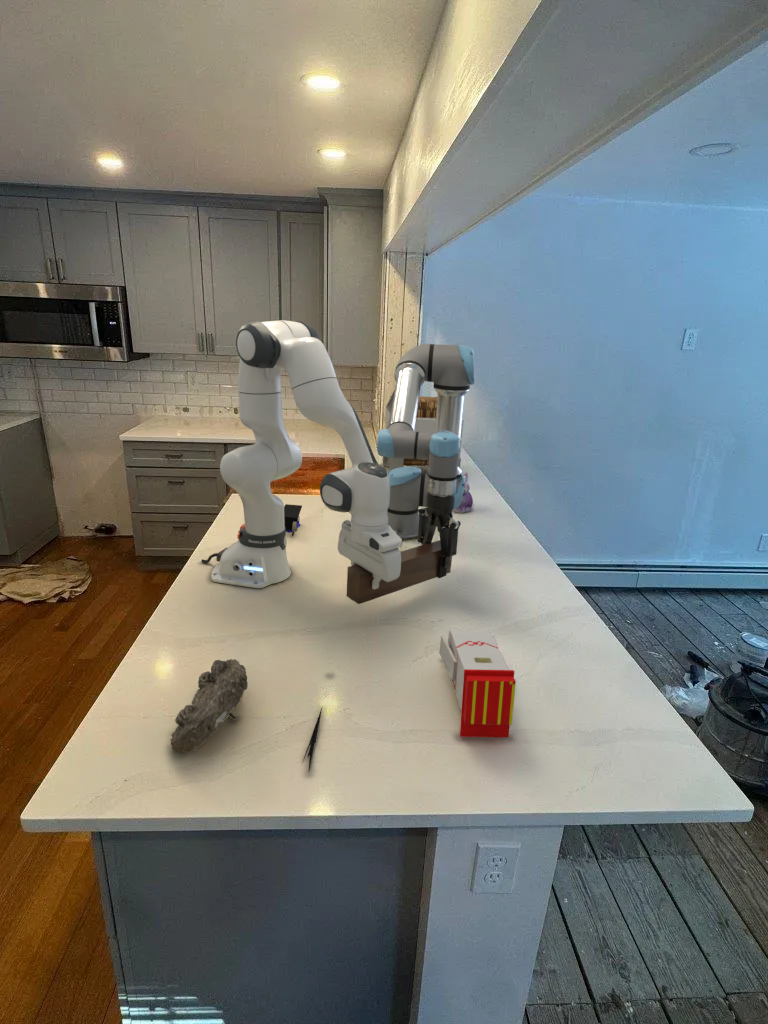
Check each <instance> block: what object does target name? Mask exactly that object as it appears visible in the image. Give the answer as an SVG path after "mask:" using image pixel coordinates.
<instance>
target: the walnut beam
mask: <svg viewBox="0 0 768 1024" xmlns="http://www.w3.org/2000/svg"><path fill="white" fill-rule="evenodd" d="M400 552H401V571H400V576H399V577H398V578H397V579H395V580H393V581H390V582H386V581H384V580H383V579H381V580H380V582H379V587H378V588H377V589H372V588H371V587H370V581H372V580H373V579H374V577H373V573H371V572H369V571H368V570H366V569H364V568H363V567H361V566H359V565H358V564H356V565H353V566H352V565H349V566H347V572H346V573H347V574H346V576H347V578H346V597H347V598H348V599H350V600H351V601H353V602H354V603H356V604H357V605H361V604H364V603H367V602H369V601H372V600H375V599H378V598H381V597H385V596H388V595H390V594H393V593H395V592H399V591H402V590H405V589H407V588H410V587H413V586H417V585H419V584H422V583H425V582H428V581H430V580H433V579H436V578H438V577H437V575H438V564H439V556H440V555H442V553H441V544H440V539H439V540H436V541H435V540H434V541H432V543H428V544H425V545H422V544H421V545H418V546H415V547H412V548H408V549H405V550H400ZM452 560H453V556H451V557H450V559H449V566H448V567H447V573H446V575H447V574H450V573H451V570H452Z"/></svg>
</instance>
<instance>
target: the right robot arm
mask: <svg viewBox="0 0 768 1024" xmlns="http://www.w3.org/2000/svg"><path fill="white" fill-rule="evenodd" d="M474 352H475V351H474V349H473V348H472V347H471V346H467V345H460V344H440V343H439V344H438V343H437V344H436V343H435V344H434V343H421V344H418V345H415V346H413V347H412V348H410V349H409V350H408V351H406V352H405V353H404V354H403V355H402V356H401V358H399V360H398V362H397V364H396V366H395V369H394V374H393V375H394V380H395V381H394V382H395V387H394V390H395V392H394V391H393V392H394V397H393V402H392V408H391V413H390V418H389V424H388V429H385V428H384V429H383V428H382V429H380V430H379V431H378V433H377V440H376V441H377V442H376V452H377V454H378V456H379V457H382V458H383V457H390V458H405V459H419V460H429V466H428V468H427V472H422V469H421V468H420V467H419V466H403V467H400V468H396V469H393V470H391V471H390V472H389V471H388V474H389V478H390V503H389V507H388V510H387V515H388V525H389V526H390V527H391V528H392V529H393V531H394V532H395V533H396V534H397V535H398V536H399V537H400V538H401V539H402V541H410V540H415V539H417V543H418V544H421V545H425V544H428V543H432V542H433V539H434V537H435V532H436V531H437V532H438V533H439V540H440V544H441V553H442V555H440V556H439V564H438V575H437V577H436V578H438V579H442V578H444V577H446V576H447V574H448V573H447V567H448V566H449V559H450V557H451V556H452V557H453V556H456V555H457V553H458V539H459V529H460V527H461V521H460V520H456V519H454V518H453V517H454V516H453V511H454V510H453V509H456V508H458V507H459V505H460V503H461V499H462V496H463V491H464V485H465V476H464V474H462V473H463V471H462V469H461V467H460V468H459V467H458V461H459V452H460V440H461V438H460V437H461V426H462V419H463V414H464V403H465V395H466V394H467V393H468V392H469V391H470V388H471V386H472V385H475V382H476V375H475V373H476V371H475V370H476V369H475V353H474ZM425 382H429V383H433V390H434V391H435V392H436V393H437V396H436V397H437V409H436V423H435V433H430V432H415V431H414V430H415V422H416V415H417V408H418V401H419V397H420V395H421V387H422V385H424V384H425ZM420 507H421V508H420ZM446 573H447V574H446Z"/></svg>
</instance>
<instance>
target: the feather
mask: <svg viewBox="0 0 768 1024" xmlns="http://www.w3.org/2000/svg"><path fill="white" fill-rule="evenodd" d="M329 675H330V676H331V675H332V674H331V673H330V674H329ZM322 710H323V707H321V708H320V710H319V713H318V716H317V719H316V723H315V725H314V728H313V731H312V733H311V737H310V739H309V742H308V745H307V748H306V751H305V754H304V757H303V760H302V763H301V767H302V765H303V763H304V761H305V758H308V759H309V760H308V762H307V763H308V764H307V766H308V771H310V770H311V766H312V765H311V764H312V760H313V757H315V756H314V755H315V751H316V749H315V746H317V739H318V733H319V729H320V722H321V717H322V712H323V711H322ZM313 754H314V755H313ZM306 755H307V757H306Z"/></svg>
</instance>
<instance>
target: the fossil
mask: <svg viewBox="0 0 768 1024" xmlns="http://www.w3.org/2000/svg"><path fill="white" fill-rule="evenodd" d="M197 683H198V684H197V687H198V690H197V691H196V693H195V694H194V697H193V698H192V701H191V704H187V705H185V706H184V707H183V708H182V709H181V710H179V712H178V713H177V715H176V717H175V719H174V721H175V723H176V725H177V726H176V728H175V730H174V731H173V732H172V733H171V735H170V736H171V738H170V747H171V750H172V751H176V752H178V753H186V752H190V751H193V752H195V751H197V750H198V749H199V748H200V747H201V746H202V745H203V744H204V743H205V742H207V741H208V740H209V739H210V737H211V736H212V735H213V734H215V733H216V731H218V730H219V729H220V728H221V726H222V725H223V723H224V721H225V720H226V719H227V718H228V717H230V718H232V720H235V719H236V716H235V715H234V714H233V713H232V710H233V709H235V708H237V706H238V705H239V704H240V702H241V700H242V698H243V696H244V693H245V691H246V690H247V689H248V686H249V685H248V675H247V669H246V668H245V666H244V665H243V664H241V663H240V661H238V660H237V659H236V658H234V659H232V658H230V659H226V660H221V659H216V660H214V661H213V662H212V665H211V667H210V671H208V670H207V671H205V672H201V674H200V675H199V676H198V681H197Z"/></svg>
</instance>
